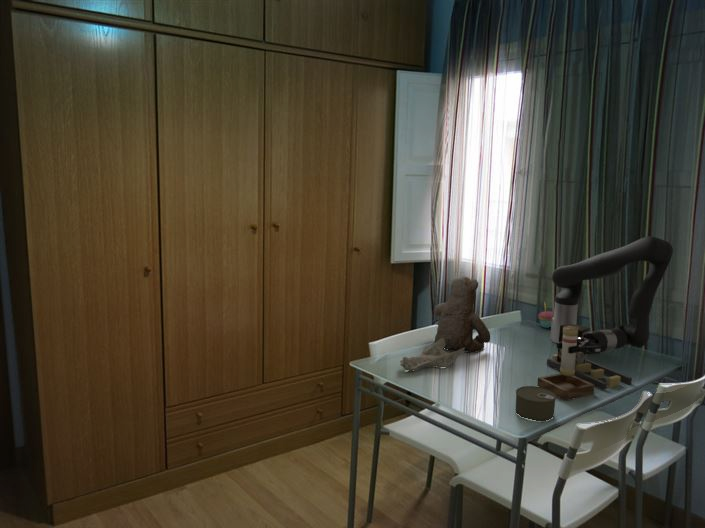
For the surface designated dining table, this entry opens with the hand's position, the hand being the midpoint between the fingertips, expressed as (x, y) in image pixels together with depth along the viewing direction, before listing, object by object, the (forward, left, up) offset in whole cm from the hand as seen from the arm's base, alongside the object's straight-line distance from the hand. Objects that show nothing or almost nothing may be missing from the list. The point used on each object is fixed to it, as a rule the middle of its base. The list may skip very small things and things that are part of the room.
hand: (563, 348), depth 203 cm
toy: (-53, -3, -16) cm, 56 cm away
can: (+10, -20, -16) cm, 28 cm away
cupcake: (-60, +52, -16) cm, 81 cm away
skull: (-39, -28, -16) cm, 50 cm away
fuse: (0, +3, -9) cm, 10 cm away
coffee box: (-16, +22, -16) cm, 31 cm away
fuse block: (-9, +22, -16) cm, 28 cm away
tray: (0, +3, -16) cm, 16 cm away
